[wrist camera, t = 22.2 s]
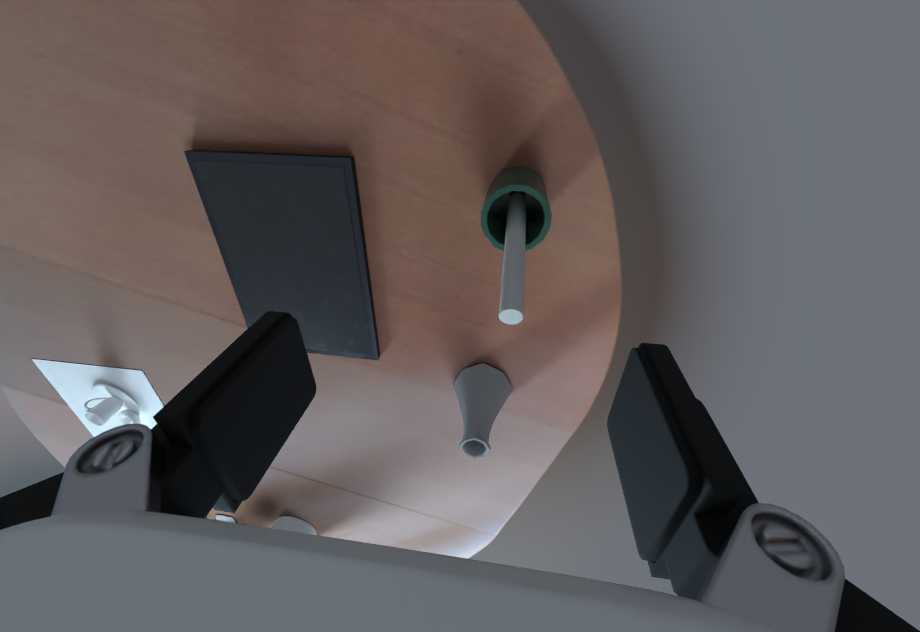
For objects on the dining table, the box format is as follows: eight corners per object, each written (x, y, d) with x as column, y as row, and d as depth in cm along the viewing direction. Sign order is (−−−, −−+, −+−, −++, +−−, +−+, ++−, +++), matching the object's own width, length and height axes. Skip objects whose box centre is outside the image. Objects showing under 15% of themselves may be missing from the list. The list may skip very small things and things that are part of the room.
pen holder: (489, 165, 33) (482, 182, 27) (550, 168, 32) (556, 186, 27) (486, 223, 36) (479, 250, 30) (541, 227, 35) (545, 255, 30)
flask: (482, 412, 50) (474, 477, 42) (444, 381, 48) (427, 443, 40) (522, 388, 47) (522, 454, 38) (483, 353, 45) (474, 415, 36)
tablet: (190, 149, 36) (182, 151, 35) (354, 156, 34) (350, 158, 34) (258, 343, 49) (254, 347, 48) (380, 355, 47) (377, 360, 46)
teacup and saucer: (152, 422, 63) (131, 442, 59) (112, 417, 64) (89, 436, 60) (128, 385, 58) (103, 403, 55) (84, 380, 59) (58, 398, 56)
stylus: (509, 183, 33) (499, 308, 23) (527, 184, 33) (524, 310, 23) (508, 199, 34) (498, 323, 25) (525, 199, 34) (522, 325, 24)
